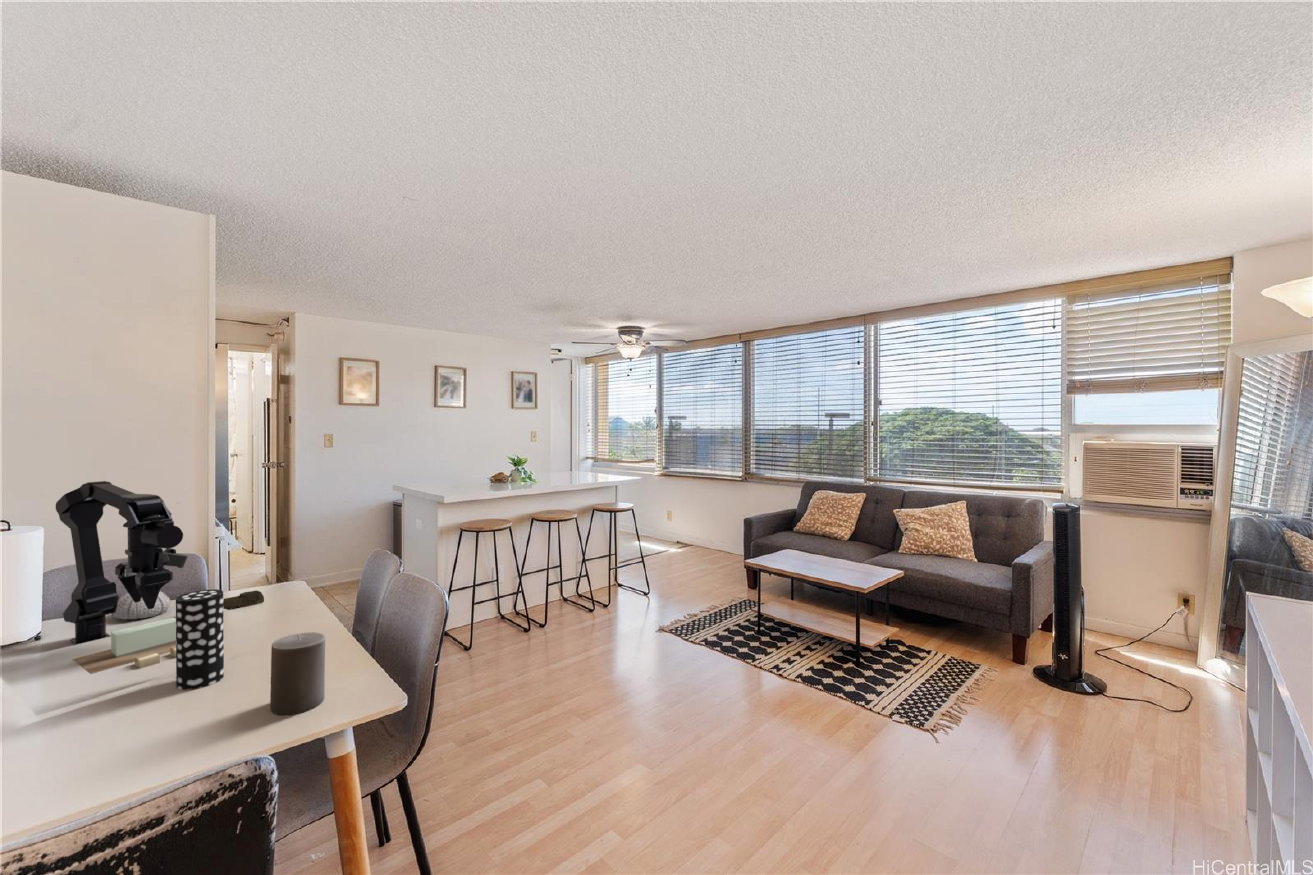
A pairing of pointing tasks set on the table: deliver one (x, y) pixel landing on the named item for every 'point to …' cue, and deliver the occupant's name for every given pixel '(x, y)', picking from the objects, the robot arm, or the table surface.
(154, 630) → the sanding block
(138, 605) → the sea urchin shell
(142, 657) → the pine offcut left
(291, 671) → the pillar candle
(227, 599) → the hand tool
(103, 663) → the walnut board
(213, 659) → the spotted tube
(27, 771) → the table surface
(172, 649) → the pine offcut right
